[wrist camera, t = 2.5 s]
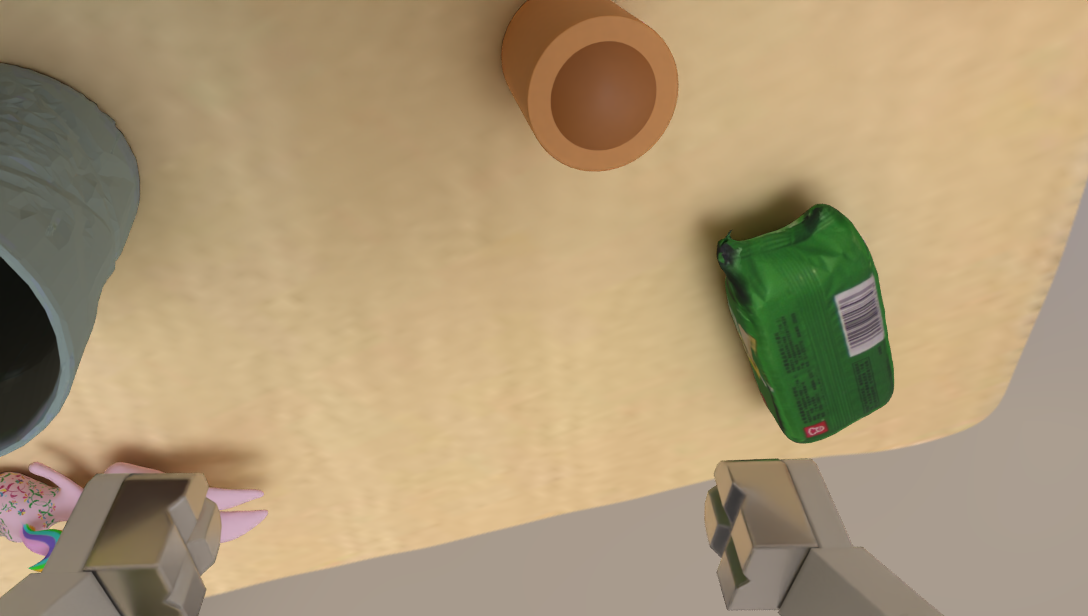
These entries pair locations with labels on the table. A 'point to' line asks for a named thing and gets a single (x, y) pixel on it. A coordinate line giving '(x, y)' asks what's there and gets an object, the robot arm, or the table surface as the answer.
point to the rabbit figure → (35, 506)
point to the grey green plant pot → (54, 239)
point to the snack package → (811, 322)
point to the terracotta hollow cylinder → (589, 80)
